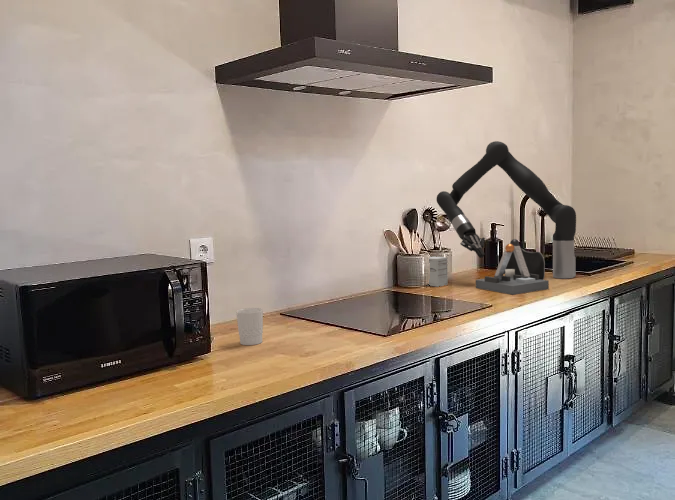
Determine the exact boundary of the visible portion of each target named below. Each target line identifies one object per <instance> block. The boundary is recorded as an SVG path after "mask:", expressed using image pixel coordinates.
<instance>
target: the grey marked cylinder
mask: <svg viewBox="0 0 675 500" xmlns="http://www.w3.org/2000/svg"><path fill="white" fill-rule="evenodd" d="M429 257H430V258H429V263H430V279H429V285H430V287H436V288H439V286H440V287H444V285H445V286H448V285H449V284H448V277H449V276H448V257H446V256H437V257H436V256H429ZM429 285H428V286H429Z"/></svg>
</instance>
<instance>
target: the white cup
mask: <svg viewBox="0 0 675 500" xmlns="http://www.w3.org/2000/svg"><path fill="white" fill-rule="evenodd" d="M235 312H236V319H237V329H238V336H239V343H240V345H242V346H254V345H259V344H262V343H263V333H264V331H263V329H264V326H263V325H264V324H263V323H264V321H263V320H264V319H263V317H264V316H263V312H264V311H263V308H259V307H247V308H240V309H237V310H236V311H235Z"/></svg>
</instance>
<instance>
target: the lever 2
mask: <svg viewBox="0 0 675 500" xmlns="http://www.w3.org/2000/svg"><path fill="white" fill-rule="evenodd" d="M509 244H513V245H514V251H513V252H514V255H515V258H516V261H517V264H518V267H519V270H520V273H521V276H528V277H529V278H531V276H530V275H529V272H528V269H527V266H526V263H525V260H524V257H523V254H522V251H521V249H522V248H521V246H520V241H519V240H518V239H517V238H513V239H511V240H510V243H509Z"/></svg>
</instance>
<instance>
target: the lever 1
mask: <svg viewBox="0 0 675 500" xmlns="http://www.w3.org/2000/svg"><path fill="white" fill-rule="evenodd" d="M504 249H505V250H504V251H503V254H502V256H501V258H500V261H499V263H498V266H497V267H496V270H495V273H494V276H493V277H495V278H499V280H502V277H503V275H505V274H504V272H505V269H506V267H507V264H508V262H509V259H510V257H511V255H512V252H513V251H514V245H513V244H510V243H507V244H506V245H505V247H504Z"/></svg>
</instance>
